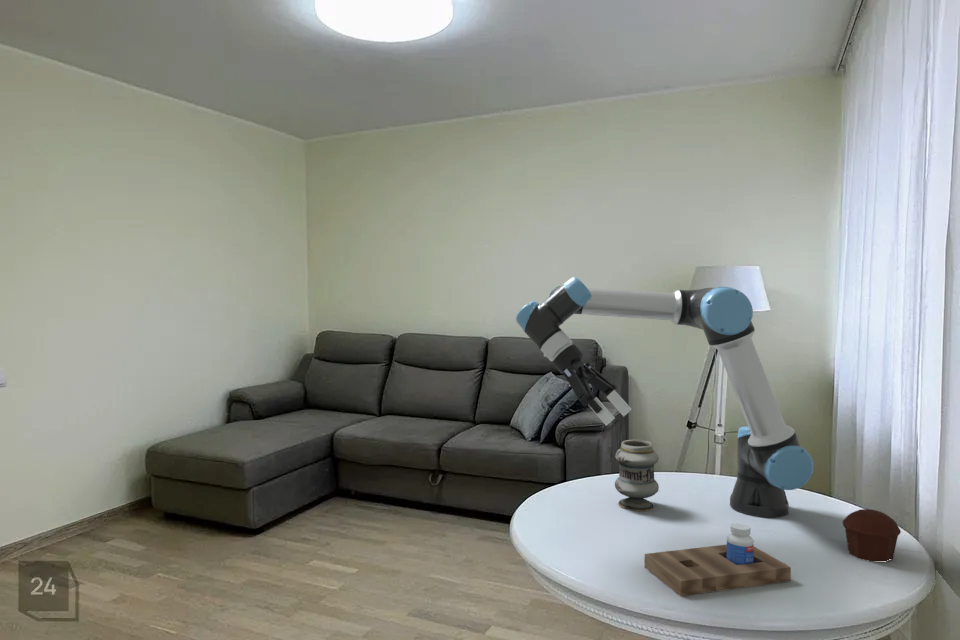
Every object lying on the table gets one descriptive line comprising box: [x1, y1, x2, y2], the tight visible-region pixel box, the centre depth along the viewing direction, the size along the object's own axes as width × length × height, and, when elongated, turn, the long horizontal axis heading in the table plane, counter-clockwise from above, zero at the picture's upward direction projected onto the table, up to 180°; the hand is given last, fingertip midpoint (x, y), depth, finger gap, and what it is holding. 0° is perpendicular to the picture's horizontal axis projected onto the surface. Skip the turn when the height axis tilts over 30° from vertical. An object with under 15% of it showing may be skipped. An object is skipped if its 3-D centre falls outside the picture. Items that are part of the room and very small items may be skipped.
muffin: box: [842, 508, 902, 562], centre depth 149 cm, size 12×11×10 cm
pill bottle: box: [726, 522, 755, 565], centre depth 140 cm, size 6×5×10 cm
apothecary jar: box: [614, 439, 660, 512], centre depth 183 cm, size 12×12×18 cm
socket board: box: [644, 544, 792, 597], centre depth 138 cm, size 26×14×3 cm, turn 105°
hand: (619, 417), depth 158 cm, fingers open, 13 cm apart
